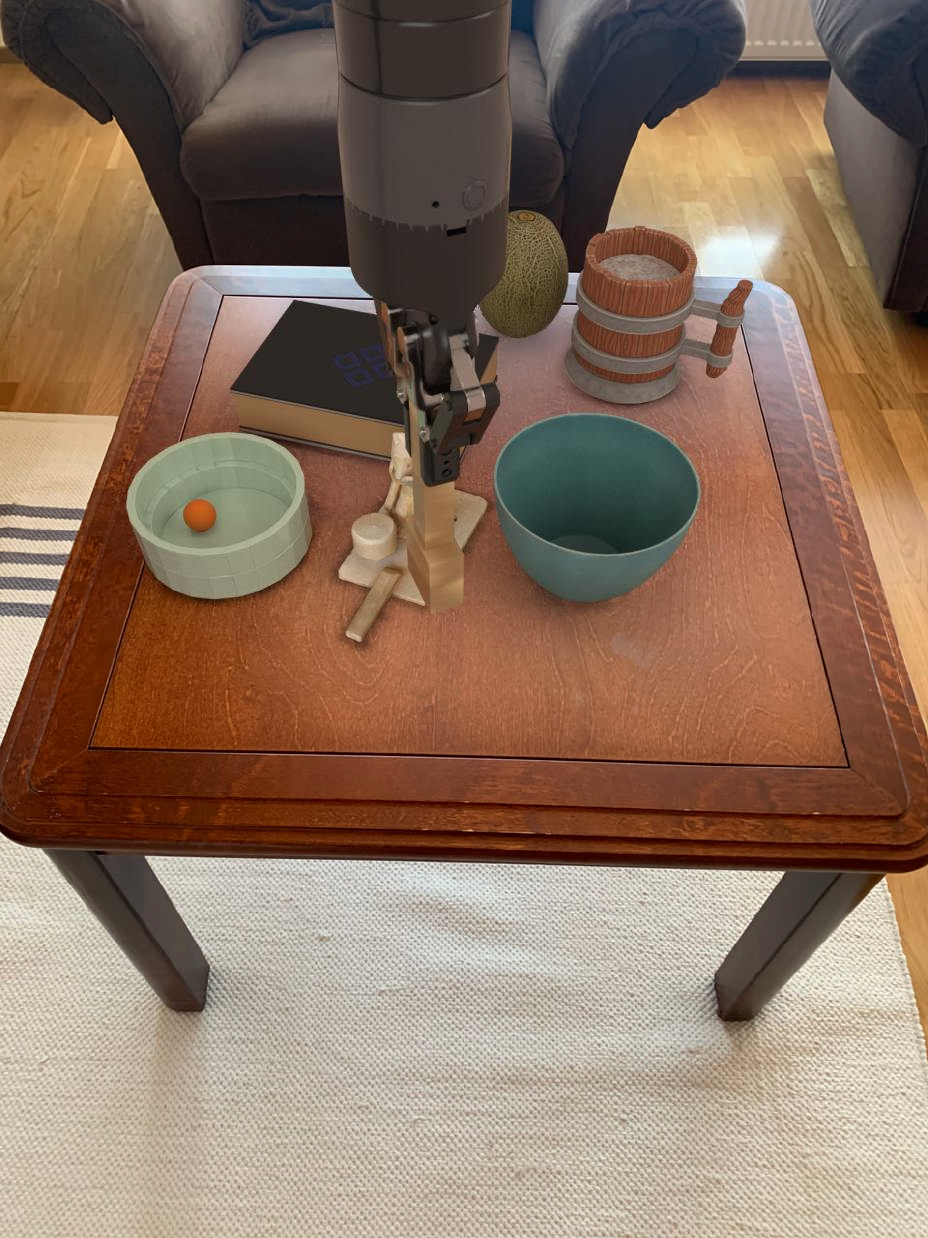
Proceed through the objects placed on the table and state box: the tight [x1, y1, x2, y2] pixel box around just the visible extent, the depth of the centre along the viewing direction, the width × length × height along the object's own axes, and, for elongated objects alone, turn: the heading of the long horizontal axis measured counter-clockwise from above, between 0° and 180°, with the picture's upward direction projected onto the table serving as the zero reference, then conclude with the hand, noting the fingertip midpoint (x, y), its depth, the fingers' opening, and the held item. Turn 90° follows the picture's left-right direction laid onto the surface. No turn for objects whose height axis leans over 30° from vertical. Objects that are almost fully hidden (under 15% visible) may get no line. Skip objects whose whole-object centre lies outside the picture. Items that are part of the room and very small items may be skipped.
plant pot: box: [492, 412, 702, 604], centre depth 86 cm, size 18×18×12 cm
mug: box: [563, 224, 754, 405], centre depth 104 cm, size 14×19×15 cm
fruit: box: [477, 209, 570, 339], centre depth 110 cm, size 11×11×15 cm
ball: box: [183, 499, 216, 532], centre depth 91 cm, size 3×3×3 cm
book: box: [229, 299, 500, 465], centre depth 103 cm, size 17×25×7 cm
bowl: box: [125, 431, 313, 600], centre depth 90 cm, size 17×17×7 cm
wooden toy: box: [337, 431, 489, 643], centre depth 86 cm, size 22×10×14 cm, turn 155°
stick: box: [405, 398, 465, 615], centre depth 57 cm, size 2×4×16 cm, turn 22°
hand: (432, 465), depth 55 cm, fingers closed on stick, 2 cm apart
